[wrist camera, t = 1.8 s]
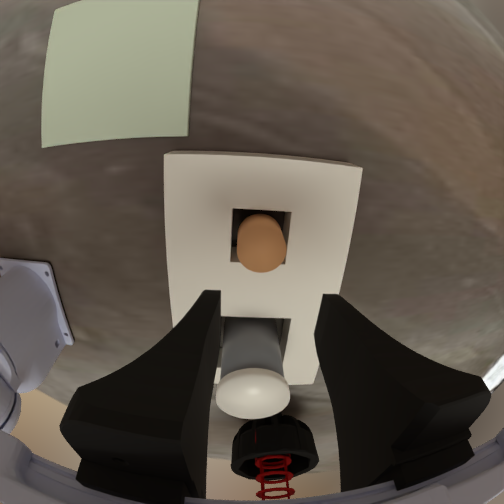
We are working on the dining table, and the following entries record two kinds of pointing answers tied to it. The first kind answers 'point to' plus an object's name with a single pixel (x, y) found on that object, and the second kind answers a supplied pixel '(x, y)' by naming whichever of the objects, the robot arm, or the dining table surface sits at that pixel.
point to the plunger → (260, 243)
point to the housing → (294, 232)
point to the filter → (273, 452)
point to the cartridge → (251, 369)
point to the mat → (119, 70)
